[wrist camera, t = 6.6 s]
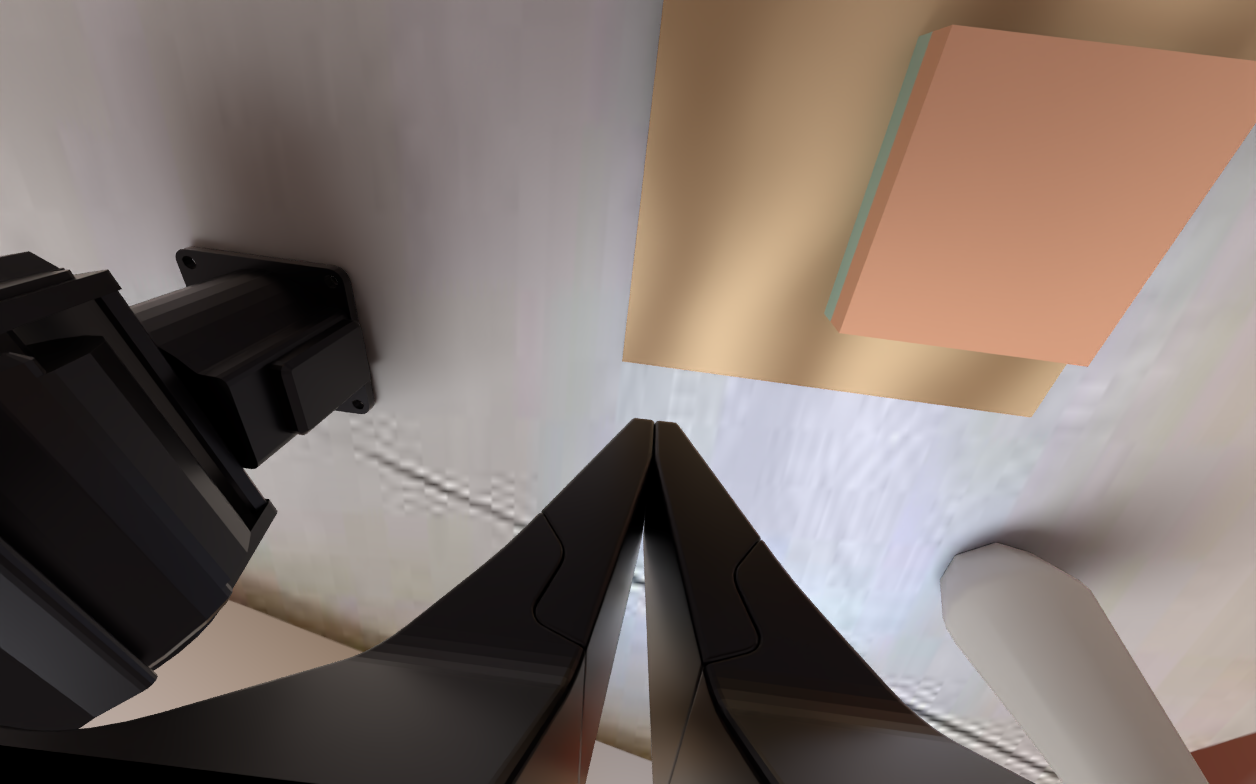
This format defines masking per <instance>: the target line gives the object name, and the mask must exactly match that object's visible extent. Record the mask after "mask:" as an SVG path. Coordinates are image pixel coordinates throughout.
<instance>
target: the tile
mask: <svg viewBox="0 0 1256 784" xmlns="http://www.w3.org/2000/svg"><path fill="white" fill-rule="evenodd" d="M1255 123H1256V61H1251V60H1243V59H1235V58H1226V57H1218V56H1210V55H1201V54H1193V53H1185V52H1176V51H1168V50H1160V49H1151V48H1143V47H1135V46H1126V45H1118V44H1110V43H1102V42H1093V41H1085V40H1077V39H1068V38H1060V37H1052V36H1043V35H1035V34H1027V33H1018V32H1010V31H1002V30H993V29H985V28H977V27H968V26H960V25H950V26H947V27H944V28H941V29H939V30H936V31H933V32H930V33H927V34H924V35H921V36H919V37H918V40H917V43H916V46H915V49H914V52H913V55H912V57H911V60H910V63H909V66H908V69H907V72H906V75H905V78H904V81H903V84H902V87H901V90H900V93H899V95H898V98H897V101H896V104H895V107H894V110H893V113H892V116H891V119H890V122H889V125H888V128H887V131H886V134H885V136H884V139H883V142H882V145H881V148H880V151H879V154H878V157H877V160H876V163H875V166H874V169H873V172H872V174H871V177H870V180H869V183H868V186H867V189H866V192H865V195H864V198H863V201H862V204H861V207H860V210H859V213H858V215H857V218H856V221H855V224H854V227H853V230H852V233H851V236H850V239H849V242H848V245H847V248H846V251H845V253H844V256H843V259H842V262H841V265H840V268H839V271H838V274H837V277H836V280H835V283H834V286H833V289H832V292H831V294H830V297H829V300H828V303H827V306H826V309H825V312H824V314H825V315H826V317H827V318H828V319H829V321H830V322H831V323H832V324H833V326H834V327H835V328H836V330H837V331H838V332H839V333H842V334H849V335H857V336H864V337H872V338H879V339H887V340H894V341H901V342H909V343H916V344H924V345H931V346H939V347H946V348H953V349H961V350H968V351H976V352H983V353H990V354H998V355H1005V356H1013V357H1020V358H1028V359H1035V360H1042V361H1050V362H1057V363H1065V364H1072V365H1080V366H1087V367H1088V365H1089V364H1090V363H1091V361H1092V360H1093V358H1094V357H1095V355H1096V354H1097V352H1098V351H1099V350H1100V348H1101V347H1102V345H1103V344H1104V342H1105V341H1106V339H1107V338H1108V336H1109V335H1110V334H1111V332H1112V331H1113V329H1114V328H1115V326H1116V325H1117V323H1118V322H1119V321H1120V319H1121V318H1122V316H1123V315H1124V313H1125V312H1126V310H1127V309H1128V307H1129V306H1130V305H1131V303H1132V302H1133V300H1134V299H1135V297H1136V296H1137V294H1138V293H1139V292H1140V290H1141V289H1142V287H1143V286H1144V284H1145V283H1146V281H1147V280H1148V278H1149V277H1150V276H1151V274H1152V273H1153V271H1154V270H1155V268H1156V267H1157V265H1158V264H1159V263H1160V261H1161V260H1162V258H1163V257H1164V255H1165V254H1166V252H1167V251H1168V249H1169V248H1170V247H1171V245H1172V244H1173V242H1174V241H1175V239H1176V238H1177V236H1178V235H1179V234H1180V232H1181V231H1182V229H1183V228H1184V226H1185V225H1186V223H1187V222H1188V220H1189V219H1190V218H1191V216H1192V215H1193V213H1194V212H1195V210H1196V209H1197V207H1198V206H1199V205H1200V203H1201V202H1202V200H1203V199H1204V197H1205V196H1206V194H1207V193H1208V191H1209V190H1210V189H1211V187H1212V186H1213V184H1214V183H1215V181H1216V180H1217V178H1218V177H1219V176H1220V174H1221V173H1222V171H1223V170H1224V168H1225V167H1226V165H1227V164H1228V163H1229V161H1230V160H1231V158H1232V157H1233V155H1234V154H1235V152H1236V151H1237V149H1238V148H1239V147H1240V145H1241V144H1242V142H1243V141H1244V139H1245V138H1246V136H1247V135H1248V134H1249V132H1250V131H1251V129H1252V128H1253V126H1254V125H1255Z"/></svg>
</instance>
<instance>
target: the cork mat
mask: <svg viewBox="0 0 1256 784" xmlns="http://www.w3.org/2000/svg"><path fill="white" fill-rule="evenodd" d="M950 25H960V26H968V27H977V28H985V29H993V30H1002V31H1010V32H1018V33H1027V34H1035V35H1043V36H1052V37H1060V38H1068V39H1077V40H1085V41H1093V42H1102V43H1110V44H1118V45H1126V46H1135V47H1143V48H1151V49H1160V50H1168V51H1176V52H1185V53H1193V54H1201V55H1210V56H1218V57H1226V58H1235V59H1243V60H1251V61H1256V0H664V1H663V9H662V18H661V27H660V36H659V44H658V53H657V62H656V71H655V79H654V88H653V97H652V106H651V114H650V123H649V132H648V141H647V149H646V158H645V167H644V176H643V184H642V193H641V202H640V211H639V219H638V228H637V237H636V246H635V254H634V263H633V272H632V281H631V289H630V298H629V307H628V316H627V324H626V333H625V342H624V351H623V359H622V361H624V362H632V363H639V364H646V365H653V366H661V367H668V368H675V369H683V370H690V371H697V372H704V373H712V374H719V375H726V376H734V377H741V378H748V379H755V380H763V381H770V382H777V383H785V384H792V385H799V386H806V387H814V388H821V389H828V390H835V391H843V392H850V393H857V394H865V395H872V396H879V397H886V398H894V399H901V400H908V401H916V402H923V403H930V404H937V405H945V406H952V407H959V408H967V409H974V410H981V411H988V412H996V413H1003V414H1010V415H1018V416H1025V417H1032V415H1033V414H1034V412H1035V411H1036V409H1037V408H1038V406H1039V405H1040V403H1041V402H1042V400H1043V399H1044V397H1045V396H1046V394H1047V393H1048V391H1049V390H1050V388H1051V387H1052V385H1053V384H1054V382H1055V381H1056V379H1057V378H1058V376H1059V375H1060V373H1061V372H1062V370H1063V369H1064V367H1065V366H1066V364H1065V363H1057V362H1050V361H1042V360H1035V359H1028V358H1020V357H1013V356H1005V355H998V354H990V353H983V352H976V351H968V350H961V349H953V348H946V347H939V346H931V345H924V344H916V343H909V342H901V341H894V340H887V339H879V338H872V337H864V336H857V335H849V334H842V333H839V332H838V331H837V330H836V328H835V327H834V326H833V324H832V323H831V322H830V321H829V319H828V318H827V317H826V315H825V314H824V312H825V309H826V306H827V303H828V300H829V297H830V294H831V292H832V289H833V286H834V283H835V280H836V277H837V274H838V271H839V268H840V265H841V262H842V259H843V256H844V253H845V251H846V248H847V245H848V242H849V239H850V236H851V233H852V230H853V227H854V224H855V221H856V218H857V215H858V213H859V210H860V207H861V204H862V201H863V198H864V195H865V192H866V189H867V186H868V183H869V180H870V177H871V174H872V172H873V169H874V166H875V163H876V160H877V157H878V154H879V151H880V148H881V145H882V142H883V139H884V136H885V134H886V131H887V128H888V125H889V122H890V119H891V116H892V113H893V110H894V107H895V104H896V101H897V98H898V95H899V93H900V90H901V87H902V84H903V81H904V78H905V75H906V72H907V69H908V66H909V63H910V60H911V57H912V55H913V52H914V49H915V46H916V43H917V40H918V37H919V36H921V35H924V34H927V33H930V32H933V31H936V30H939V29H941V28H944V27H947V26H950Z"/></svg>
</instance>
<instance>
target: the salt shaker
mask: <svg viewBox="0 0 1256 784" xmlns="http://www.w3.org/2000/svg"><path fill="white" fill-rule="evenodd" d="M940 587H941V602H942V616H943V620H944V623H945V626H946V629H947V630H948V632H949V634H950V635H951V637H952V639H953V640H954V642H955V644H956V645H957V646H958V647H959V649H960V650H961V651H962V653H963V654H964V655H965V656H966V658H967V659H968V660H969V662H970V663H971V664H972V665H973V667H974V668H975V669H976V670H977V672H978V673H979V674H980V676H981V677H982V678H983V679H984V681H985V682H986V683H987V685H988V686H989V687H990V688H991V690H992V691H993V692H994V694H995V695H996V696H997V697H998V699H999V700H1000V701H1001V703H1002V704H1003V705H1004V706H1005V708H1006V709H1007V710H1008V711H1009V713H1010V714H1011V715H1012V717H1013V718H1014V719H1015V720H1016V722H1017V723H1018V724H1019V726H1020V727H1021V728H1022V730H1023V731H1024V732H1025V733H1026V735H1027V736H1028V737H1029V739H1030V740H1031V741H1032V743H1033V744H1034V745H1035V747H1036V748H1037V749H1038V751H1039V752H1040V753H1041V755H1042V756H1043V757H1044V759H1045V760H1046V761H1047V763H1048V764H1049V765H1050V767H1051V768H1052V769H1053V771H1054V772H1055V773H1056V775H1057V776H1058V777H1059V779H1060V780H1061V781H1062V783H1063V784H1209V783H1208V781H1207V780H1206V778H1205V776H1204V775H1203V773H1202V772H1201V770H1200V768H1199V767H1198V765H1197V763H1196V762H1195V760H1194V758H1193V757H1192V755H1191V754H1190V752H1189V750H1188V749H1187V747H1186V745H1185V744H1184V742H1183V740H1182V739H1181V737H1180V735H1179V734H1178V732H1177V731H1176V729H1175V727H1174V726H1173V724H1172V722H1171V721H1170V719H1169V717H1168V716H1167V714H1166V713H1165V711H1164V709H1163V708H1162V706H1161V704H1160V703H1159V701H1158V699H1157V698H1156V696H1155V695H1154V693H1153V691H1152V690H1151V688H1150V686H1149V685H1148V683H1147V681H1146V680H1145V678H1144V677H1143V675H1142V673H1141V672H1140V670H1139V668H1138V667H1137V665H1136V663H1135V662H1134V660H1133V659H1132V657H1131V655H1130V654H1129V652H1128V650H1127V649H1126V647H1125V645H1124V644H1123V642H1122V641H1121V639H1120V637H1119V636H1118V634H1117V632H1116V631H1115V629H1114V627H1113V626H1112V624H1111V623H1110V621H1109V619H1108V618H1107V616H1106V614H1105V613H1104V611H1103V609H1102V608H1101V606H1100V605H1099V603H1098V601H1097V600H1096V598H1095V596H1094V595H1093V593H1092V591H1091V590H1090V589H1089V588H1087V587H1086V586H1085V585H1084V584H1083V583H1082V582H1080V581H1079V580H1078V579H1076V578H1074V577H1072V576H1071V575H1069V574H1067V573H1065V572H1064V571H1062V570H1060V569H1058V568H1057V567H1055V566H1053V565H1051V564H1050V563H1048V562H1046V561H1044V560H1043V559H1041V558H1039V557H1037V556H1036V555H1034V554H1032V553H1030V552H1027V551H1023V550H1020V549H1017V548H1013V547H1010V546H1006V545H1003V544H1000V543H993V544H990V545H987V546H983V547H980V548H977V549H974V550H971V551H968V552H964V553H961V554H958V555H955V556H954V558H953V560H952V561H951V563H950V565H949V566H948V568H947V570H946V571H945V573H944V574H943V576H942V578H941V579H940Z"/></svg>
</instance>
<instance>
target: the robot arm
mask: <svg viewBox="0 0 1256 784" xmlns="http://www.w3.org/2000/svg"><path fill="white" fill-rule="evenodd" d="M192 259H193V260H194V261H195V263H196V264H195V263H194V261H193V260H192ZM176 261H177V263H178V266H179V269H180V271H181V274H182V276H183V279H184V282H185V284H186V287H185V288H183V289H180V290H177V291H174V292H171V293H168V294H165V295H162V296H159V297H156V298H153V299H150V300H147V301H144V302H141V303H138V304H135V305H132V306H130V307H129V306H128V304H127V303H126V301H125V300H124V298H123V297H122V296H121V294H120V293H119V291H118V290H121V289H122V288H121V287H120V286H119V284H118V283H117V281H116V280H115V278H114V277H113V276H112V274H111V273H110V271H109V270H101V271H95V272H88V273H82V274H75V275H73V274H72V272H71V271H70V270H65V269H64V268H58V267H56V266H54V265H53V264H51V263H49V262H47V261H45V260H44V259H42V258H40V257H38V256H36V255H35V254H33V253H31V252H29V251H28V252H22V253H16V254H10V255H5V256H0V784H585V783H586V779H587V774H588V770H589V766H590V761H591V757H592V753H593V748H594V744H595V740H596V735H597V731H598V727H599V722H600V718H601V714H602V709H603V705H604V701H605V696H606V692H607V688H608V683H609V679H610V675H611V670H612V666H613V662H614V657H615V653H616V649H617V644H618V640H619V636H620V631H621V627H622V623H623V618H624V614H625V610H626V605H627V601H628V597H629V592H630V588H631V584H632V579H633V575H634V571H635V566H636V562H637V557H638V553H639V549H640V544H641V539H642V533H643V526H644V533H643V548H644V573H645V598H646V623H647V648H648V673H649V699H650V724H651V749H652V774H653V784H1035V783H1033V782H1031V781H1029V780H1027V779H1025V778H1023V777H1021V776H1020V775H1018V774H1016V773H1014V772H1012V771H1010V770H1008V769H1006V768H1004V767H1002V766H1000V765H998V764H997V763H995V762H993V761H991V760H989V759H987V758H985V757H983V756H981V755H979V754H977V753H975V752H974V751H972V750H970V749H968V748H966V747H964V746H962V745H960V744H958V743H957V742H955V741H953V740H951V739H950V738H948V737H946V736H945V735H943V734H942V733H940V732H939V731H937V730H936V729H934V728H933V727H932V726H930V725H929V724H928V723H927V722H925V721H924V720H923V719H921V718H920V717H919V716H918V715H917V714H916V713H914V712H913V711H912V710H911V709H910V708H909V707H908V706H907V705H906V704H905V703H903V702H902V701H901V700H900V698H899V697H898V696H897V695H896V694H895V693H894V692H893V691H892V690H891V689H890V688H889V687H888V686H887V685H886V684H885V683H884V682H883V680H882V679H881V678H880V677H879V676H878V675H877V674H876V673H875V672H874V670H873V669H872V668H871V667H870V666H869V665H868V664H867V663H866V662H865V661H864V659H863V658H862V657H861V656H860V655H859V654H858V653H857V652H856V651H855V650H854V648H853V647H852V646H851V645H850V644H849V643H848V642H847V641H846V640H845V638H844V637H843V636H842V635H841V634H840V633H839V632H838V631H837V630H836V629H835V627H834V626H833V625H832V624H831V623H830V622H829V621H828V620H827V619H826V617H825V616H824V615H823V614H822V613H821V612H820V611H819V610H818V608H817V607H816V606H815V605H814V604H813V603H812V602H811V600H810V599H809V598H808V597H807V596H806V595H805V593H804V592H803V591H802V590H801V589H800V588H799V586H798V585H797V584H796V583H795V582H794V581H793V579H792V578H791V577H790V575H789V574H788V573H787V572H786V570H785V569H784V568H783V566H782V565H781V564H780V563H779V561H778V560H777V559H776V557H775V556H774V555H773V553H772V552H771V551H770V549H769V548H768V547H767V545H766V544H765V542H764V541H763V540H761V538H760V536H759V535H758V533H757V532H756V530H755V529H754V528H753V526H752V525H751V524H750V522H749V521H748V520H747V518H746V517H745V515H744V514H743V513H742V511H741V510H740V509H739V507H738V506H737V504H736V503H735V502H734V500H733V499H732V498H731V496H730V495H729V494H728V492H727V491H726V489H725V488H724V487H723V485H722V484H721V483H720V481H719V480H718V479H717V477H716V476H715V474H714V473H713V472H712V470H711V469H710V468H709V466H708V465H707V464H706V462H705V461H704V459H703V458H702V457H701V455H700V454H699V453H698V451H697V450H696V448H695V447H694V446H693V444H692V443H691V442H690V440H689V439H688V438H687V436H686V435H685V433H684V432H683V431H682V429H681V428H680V427H679V425H678V424H677V423H674V422H664V421H657V422H656V423H655V424H654V421H652V420H647V419H638V418H634V419H632V420H631V421H630V422H629V423H628V424H627V425H626V426H625V427H624V428H623V429H622V430H621V431H620V432H619V433H618V434H617V435H616V436H615V437H614V438H613V439H612V440H611V441H610V442H609V443H608V444H607V445H606V446H605V447H604V448H603V449H602V450H601V451H600V452H599V453H598V454H597V455H596V456H595V457H594V458H593V459H592V461H591V462H590V463H589V464H588V465H587V466H586V467H585V468H584V469H583V470H582V471H581V472H580V473H579V474H578V475H577V476H576V477H575V478H574V479H573V480H572V481H571V482H570V483H569V484H568V485H567V486H566V487H565V488H564V489H563V490H562V491H561V492H560V493H559V494H558V495H557V496H556V497H555V498H554V499H553V500H552V501H551V502H550V503H549V504H548V505H547V506H546V507H545V508H544V509H543V510H542V512H541V513H539V514H538V515H537V516H536V517H535V518H534V519H533V520H532V521H531V522H530V523H529V524H528V525H527V526H526V527H525V528H524V529H523V530H522V531H521V532H520V533H519V534H518V535H517V536H515V537H514V538H513V539H512V540H511V541H510V542H509V543H508V544H507V545H506V546H505V547H504V548H502V549H501V550H500V551H499V552H498V553H496V554H495V555H494V556H493V557H492V558H490V559H489V560H488V561H487V562H486V563H485V564H483V565H482V566H481V567H480V568H479V569H477V570H476V571H475V572H474V573H472V574H471V575H470V576H468V577H467V578H466V579H465V580H463V581H462V582H461V583H460V584H458V585H457V586H456V587H455V588H453V589H452V590H451V591H450V592H448V593H447V594H446V595H445V596H443V597H442V598H441V599H439V600H438V601H437V602H436V603H434V604H433V605H432V606H431V607H429V608H428V609H427V610H426V611H424V612H423V613H422V614H421V615H419V616H418V617H417V618H416V619H414V620H413V621H412V622H410V623H409V624H408V625H407V626H405V627H404V628H402V629H401V630H400V631H398V632H397V633H396V634H394V635H393V636H391V637H390V638H388V639H386V640H385V641H383V642H382V643H380V644H378V645H376V646H374V647H373V648H371V649H369V650H367V651H365V652H363V653H361V654H358V655H356V656H353V657H350V658H348V659H344V660H342V661H338V662H335V663H331V664H327V665H324V666H321V667H318V668H314V669H310V670H307V671H303V672H300V673H296V674H293V675H289V676H286V677H283V678H279V679H276V680H272V681H269V682H265V683H262V684H258V685H255V686H252V687H248V688H245V689H241V690H238V691H234V692H231V693H228V694H224V695H220V696H217V697H213V698H210V699H207V700H203V701H200V702H196V703H193V704H190V705H186V706H182V707H179V708H175V709H172V710H169V711H165V712H162V713H158V714H154V715H150V716H146V717H142V718H138V719H134V720H130V721H126V722H121V723H115V724H110V725H104V726H99V727H93V728H84V729H79V728H81V727H82V726H84V725H85V724H87V723H88V722H89V721H91V720H92V719H94V718H95V717H97V716H99V715H101V714H103V713H104V712H106V711H108V710H110V709H112V708H113V707H115V706H117V705H119V704H121V703H122V702H124V701H126V700H128V699H130V698H132V697H133V696H135V695H137V694H139V693H141V692H143V691H144V690H146V689H148V688H149V687H150V686H151V685H152V684H153V683H154V682H155V681H156V679H157V677H158V676H157V674H156V673H155V672H154V670H155V669H157V668H159V667H160V666H161V665H163V664H164V663H165V662H167V661H168V660H170V659H171V658H172V657H174V656H175V655H176V654H178V653H179V652H180V651H182V650H183V649H184V648H185V647H186V646H187V645H188V644H190V643H191V642H192V641H193V640H194V639H195V638H196V637H198V636H199V635H200V633H201V632H202V631H203V630H204V629H205V628H206V627H207V626H208V625H209V624H210V623H211V622H212V620H213V619H214V618H215V616H216V615H217V613H218V612H219V610H220V609H221V608H222V607H223V606H224V605H225V604H226V603H227V601H228V600H229V598H230V596H231V594H232V589H233V587H234V586H235V584H236V582H237V581H238V579H239V577H240V575H241V574H242V572H243V570H244V569H245V567H246V565H247V564H248V562H249V560H250V558H251V557H252V555H253V553H254V552H255V550H256V548H257V546H258V545H259V543H260V541H261V540H262V538H263V536H264V535H265V533H266V531H267V529H268V528H269V526H270V524H271V523H272V521H273V519H274V517H275V516H276V514H277V510H276V508H275V507H274V506H273V504H272V503H271V501H270V500H269V499H265V498H264V497H263V496H262V494H261V493H260V491H259V490H258V488H257V487H256V486H255V484H254V483H253V481H252V480H251V479H250V477H249V476H248V474H247V473H246V471H245V470H244V469H243V468H248V469H256V468H257V467H258V466H260V465H261V464H262V463H263V462H264V461H266V460H267V459H268V458H269V457H270V456H272V455H273V454H274V453H275V452H276V451H278V450H279V449H280V448H281V447H282V446H284V445H285V444H286V443H287V442H289V441H290V440H291V439H292V438H293V437H295V436H296V435H297V434H299V435H305V434H307V433H308V432H309V431H311V430H312V429H313V428H314V427H315V426H316V425H318V424H319V423H320V422H321V421H322V420H324V419H325V418H326V417H327V416H328V415H329V414H331V413H332V412H333V411H334V410H336V411H343V412H350V413H357V414H365V413H367V412H368V411H369V410H370V409H372V408H373V406H374V397H373V392H372V387H371V382H370V379H371V375H370V370H369V365H368V360H367V355H366V350H365V345H364V340H363V335H362V330H361V326H360V325H359V322H358V317H357V311H356V306H355V301H354V296H353V291H352V286H351V281H350V278H349V276H348V274H347V273H346V272H345V271H344V270H343V269H342V268H340V267H337V266H333V265H326V264H318V263H311V262H303V261H296V260H289V259H281V258H274V257H266V256H259V255H251V254H244V253H237V252H229V251H222V250H214V249H207V248H200V247H188V248H184V249H180V250H179V251H177V253H176ZM331 276H333V277H334V278H335V279H336V280H337V282H338V285H337V284H335V283H334V282H333V281H332V279H331ZM358 400H360V401H361V402H362V403H363V404H361V403H360V402H359V401H358ZM644 518H645V519H644Z"/></svg>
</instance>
